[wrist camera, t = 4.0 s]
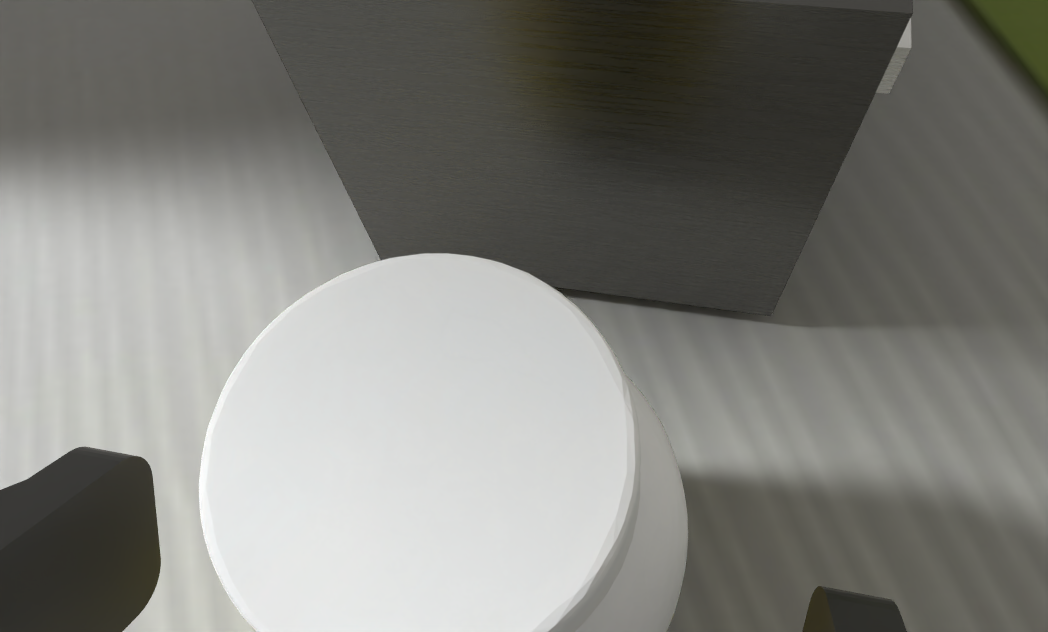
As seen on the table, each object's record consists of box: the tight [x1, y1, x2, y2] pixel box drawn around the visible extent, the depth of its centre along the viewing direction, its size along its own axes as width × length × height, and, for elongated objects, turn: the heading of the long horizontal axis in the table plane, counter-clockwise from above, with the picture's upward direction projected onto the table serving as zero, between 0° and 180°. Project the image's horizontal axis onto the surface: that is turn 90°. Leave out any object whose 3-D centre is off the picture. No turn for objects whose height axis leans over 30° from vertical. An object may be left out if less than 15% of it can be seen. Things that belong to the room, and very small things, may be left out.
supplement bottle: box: [199, 253, 688, 632], centre depth 11 cm, size 5×5×10 cm
